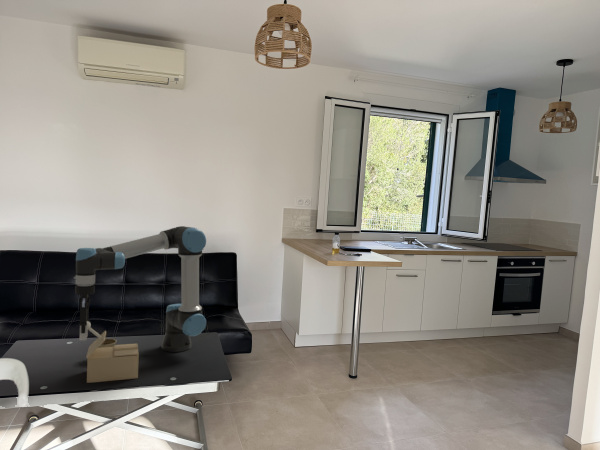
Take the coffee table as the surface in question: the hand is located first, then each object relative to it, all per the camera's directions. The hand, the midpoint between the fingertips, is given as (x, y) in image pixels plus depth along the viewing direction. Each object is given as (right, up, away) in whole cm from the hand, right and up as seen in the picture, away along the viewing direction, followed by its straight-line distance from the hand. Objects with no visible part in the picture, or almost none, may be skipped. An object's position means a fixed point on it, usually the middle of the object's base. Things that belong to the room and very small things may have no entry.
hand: (83, 338), depth 187 cm
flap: (+5, -3, +2) cm, 6 cm away
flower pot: (-1, -16, +22) cm, 28 cm away
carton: (+10, -17, +5) cm, 21 cm away
